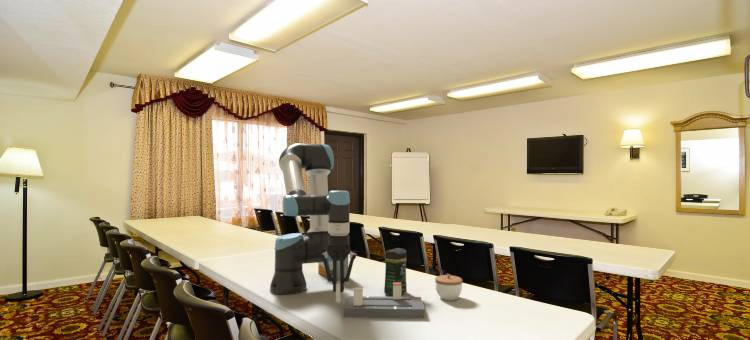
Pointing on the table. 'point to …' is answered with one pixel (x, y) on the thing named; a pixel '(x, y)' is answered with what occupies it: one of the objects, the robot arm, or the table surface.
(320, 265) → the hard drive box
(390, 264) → the coffee jar
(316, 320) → the table surface
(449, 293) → the lidded jar
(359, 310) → the console
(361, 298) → the fader front
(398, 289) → the block
